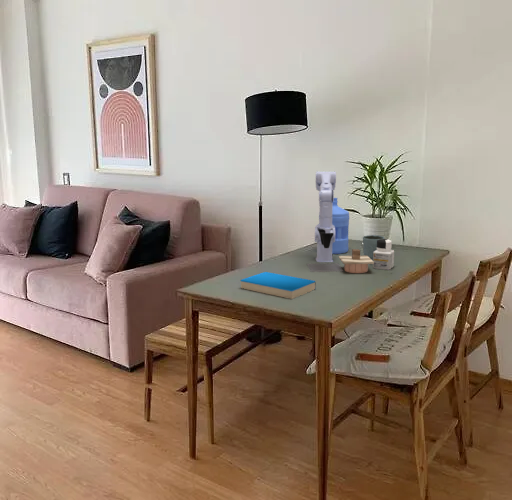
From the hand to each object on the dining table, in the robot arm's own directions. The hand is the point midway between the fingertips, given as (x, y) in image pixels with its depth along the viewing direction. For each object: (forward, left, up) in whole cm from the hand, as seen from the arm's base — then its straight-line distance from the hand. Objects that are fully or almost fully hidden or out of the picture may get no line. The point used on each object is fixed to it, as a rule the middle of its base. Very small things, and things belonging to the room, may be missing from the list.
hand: (325, 246), depth 240 cm
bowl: (+6, +13, -10) cm, 18 cm away
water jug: (-38, +10, -11) cm, 41 cm away
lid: (+6, +13, -5) cm, 15 cm away
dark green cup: (-13, +25, -11) cm, 30 cm away
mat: (0, 0, -10) cm, 10 cm away
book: (+32, -23, -11) cm, 41 cm away
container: (-1, +27, -11) cm, 29 cm away
